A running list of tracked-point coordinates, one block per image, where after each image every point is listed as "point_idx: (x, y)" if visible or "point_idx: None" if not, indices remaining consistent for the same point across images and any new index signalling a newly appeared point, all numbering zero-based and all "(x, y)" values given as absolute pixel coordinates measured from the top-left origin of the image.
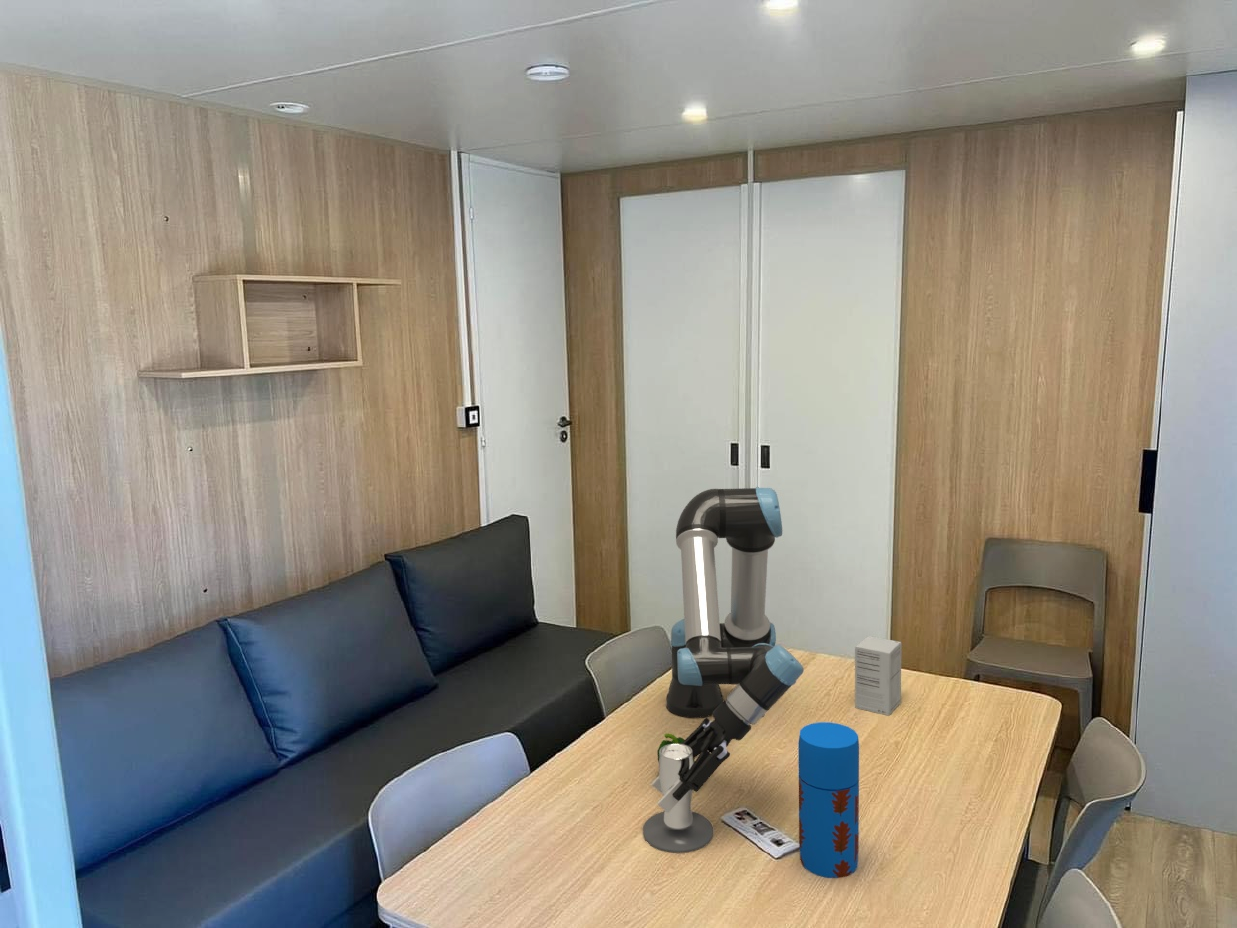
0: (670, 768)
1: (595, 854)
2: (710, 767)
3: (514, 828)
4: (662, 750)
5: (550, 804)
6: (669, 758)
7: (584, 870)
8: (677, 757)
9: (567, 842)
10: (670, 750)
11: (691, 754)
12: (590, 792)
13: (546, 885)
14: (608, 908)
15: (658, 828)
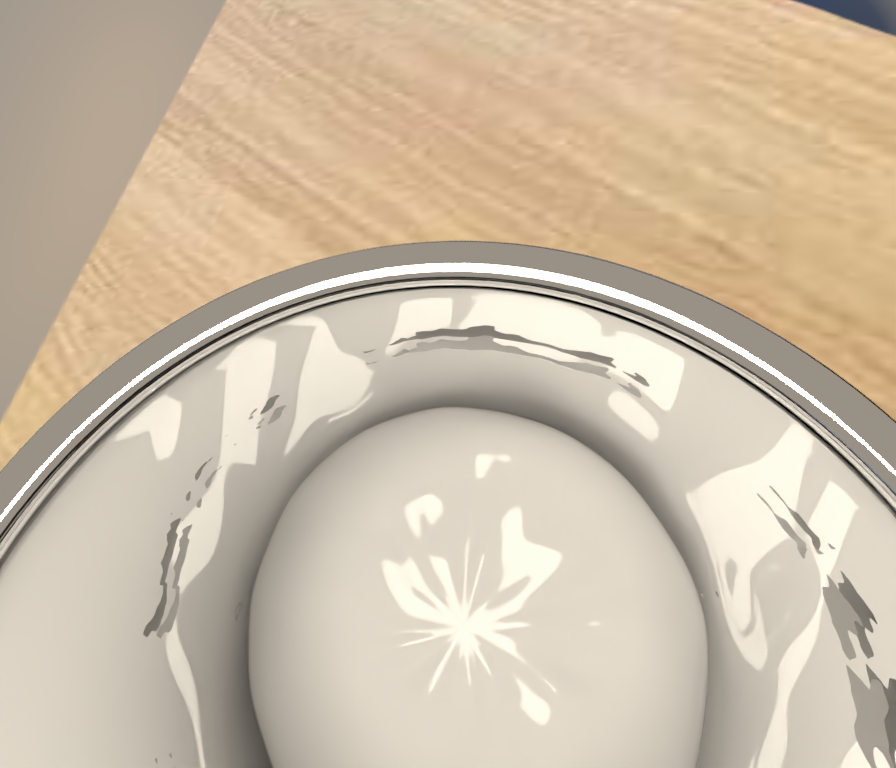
0: (194, 481)
1: (403, 231)
2: None
3: (596, 31)
4: (707, 382)
5: (744, 112)
6: (33, 438)
7: (328, 198)
8: (769, 757)
9: (491, 158)
10: (863, 646)
11: None
12: (845, 237)
13: (294, 111)
14: (134, 248)
15: None
